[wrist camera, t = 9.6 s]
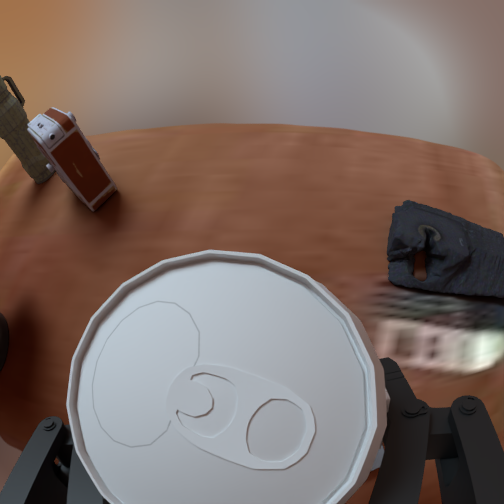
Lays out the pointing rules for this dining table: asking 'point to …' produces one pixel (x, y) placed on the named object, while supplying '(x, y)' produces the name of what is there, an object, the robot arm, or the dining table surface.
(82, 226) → the dining table surface
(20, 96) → the thermos
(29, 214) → the dining table surface
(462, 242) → the crumpled black cloth
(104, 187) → the cine camera
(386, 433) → the robot arm
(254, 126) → the dining table surface
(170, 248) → the dining table surface
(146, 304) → the supplement can
